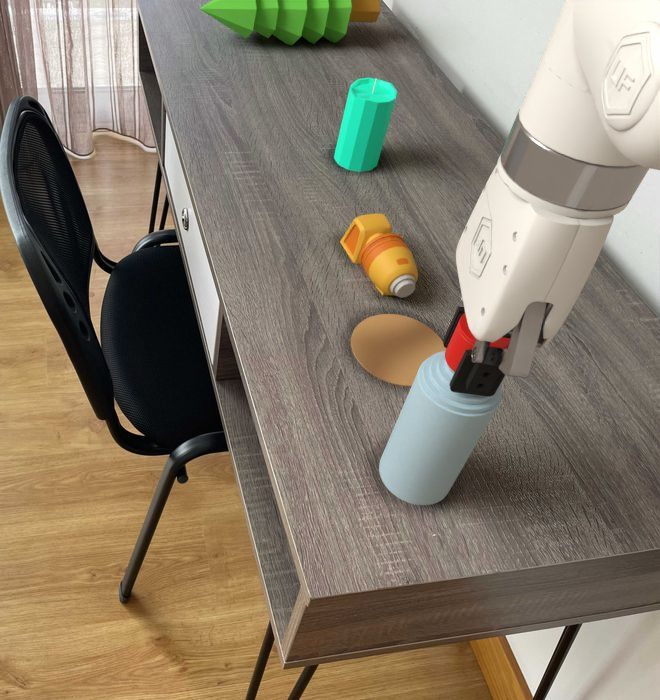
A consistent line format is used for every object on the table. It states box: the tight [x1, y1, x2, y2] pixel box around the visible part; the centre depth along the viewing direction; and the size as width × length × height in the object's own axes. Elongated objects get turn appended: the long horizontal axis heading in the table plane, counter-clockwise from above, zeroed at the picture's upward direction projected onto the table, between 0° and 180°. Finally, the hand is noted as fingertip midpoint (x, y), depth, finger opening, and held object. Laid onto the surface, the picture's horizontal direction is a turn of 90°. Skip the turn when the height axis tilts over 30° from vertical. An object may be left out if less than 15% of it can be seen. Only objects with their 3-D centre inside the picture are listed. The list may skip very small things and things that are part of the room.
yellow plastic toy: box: [339, 213, 419, 298], centre depth 82 cm, size 5×6×12 cm
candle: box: [333, 77, 398, 173], centre depth 95 cm, size 6×6×12 cm
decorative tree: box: [198, 0, 381, 46], centre depth 118 cm, size 11×12×30 cm
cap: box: [445, 313, 510, 372], centre depth 53 cm, size 4×4×4 cm
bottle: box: [378, 351, 503, 506], centre depth 59 cm, size 6×6×18 cm
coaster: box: [350, 313, 447, 388], centre depth 76 cm, size 10×10×1 cm
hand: (467, 367), depth 55 cm, fingers closed on cap, 3 cm apart
